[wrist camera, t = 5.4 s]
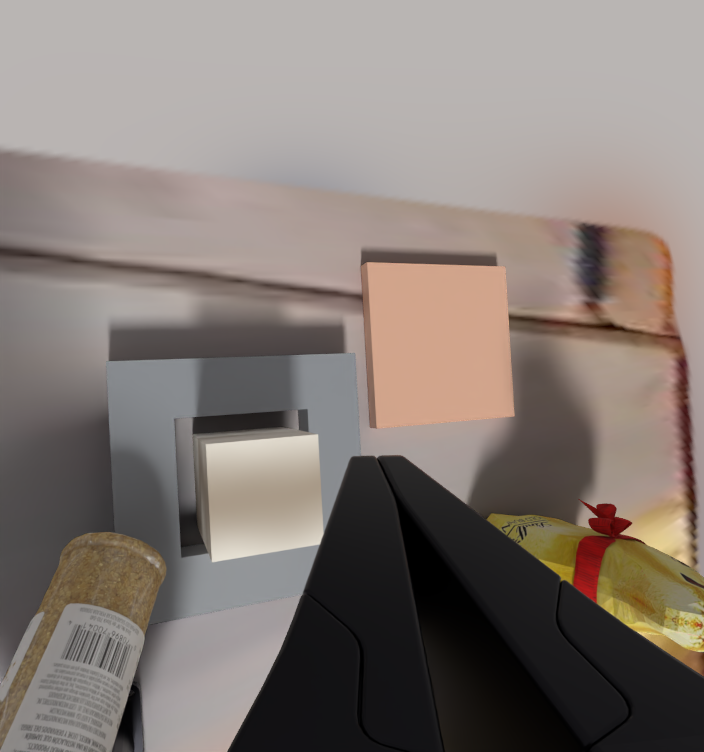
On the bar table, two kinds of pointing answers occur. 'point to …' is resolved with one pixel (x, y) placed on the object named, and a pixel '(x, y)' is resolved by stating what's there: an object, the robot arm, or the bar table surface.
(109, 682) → the sprinkles bottle
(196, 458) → the cream block
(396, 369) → the terracotta tile
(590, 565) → the chocolate bunny
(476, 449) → the bar table surface
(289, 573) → the collar
